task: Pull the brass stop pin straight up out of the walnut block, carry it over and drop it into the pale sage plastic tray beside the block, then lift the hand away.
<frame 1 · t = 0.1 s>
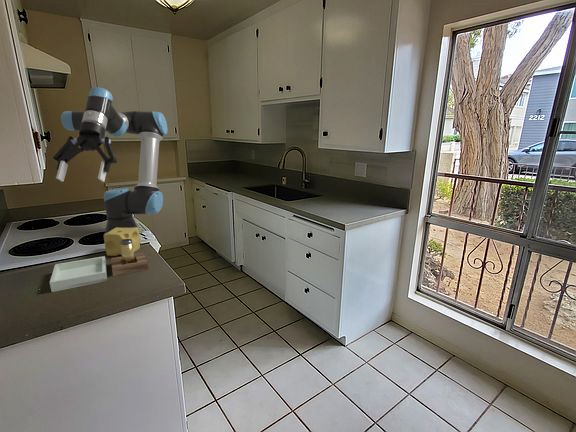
hand: (80, 180, 103), 36 cm above the countertop, tool tilted 35°, fingers open, 13 cm apart
cheese: (123, 252, 135), on the countertop
pin: (128, 253, 119), in the pin block
pin block: (129, 266, 121), on the countertop
tray: (81, 276, 112), on the countertop
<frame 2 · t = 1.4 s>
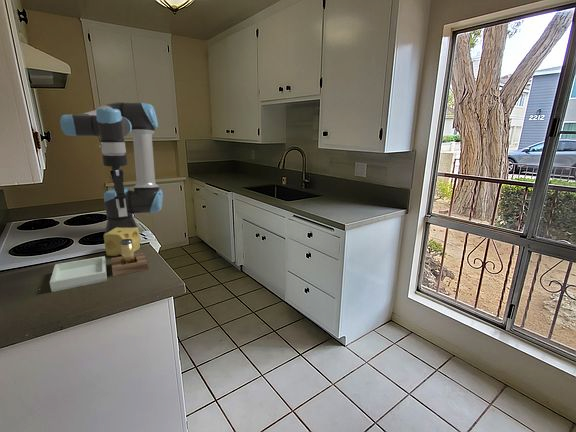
hand: (122, 212, 115), 23 cm above the countertop, tool pointing down, fingers open, 13 cm apart
nothing on the countertop moved.
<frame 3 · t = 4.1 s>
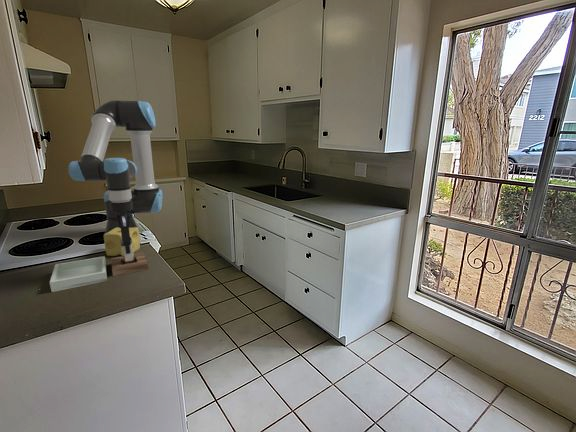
hand: (128, 258, 120), 4 cm above the countertop, tool pointing down, fingers closed on pin, 4 cm apart
pin: (128, 253, 119), in the pin block, touching gripper
everything else where it was.
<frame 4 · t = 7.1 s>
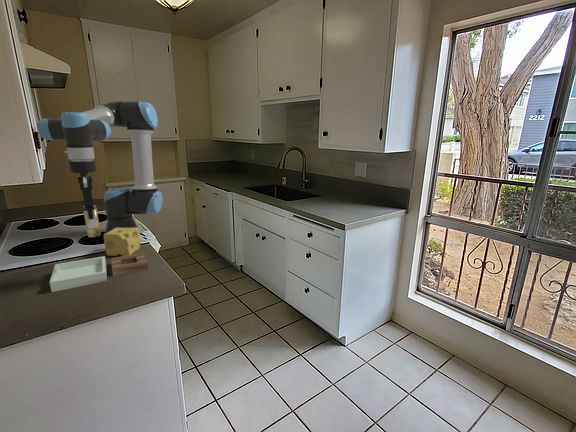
hand: (92, 225, 110), 19 cm above the countertop, tool pointing down, fingers closed on pin, 4 cm apart
pin: (92, 220, 109), point 21 cm above the countertop, touching gripper
everything else where it was.
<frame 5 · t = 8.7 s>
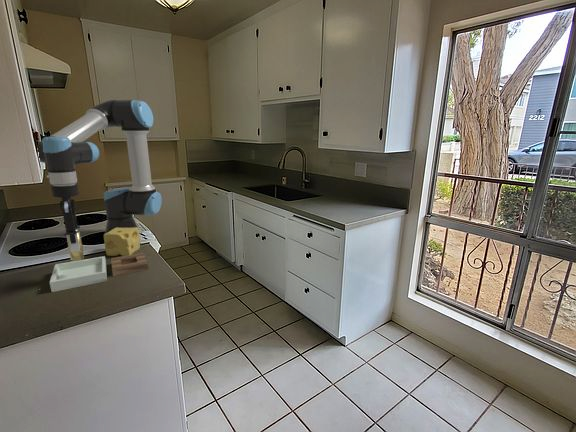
hand: (75, 249, 109), 11 cm above the countertop, tool pointing down, fingers closed on pin, 4 cm apart
pin: (74, 244, 108), point 13 cm above the countertop, touching gripper
everything else where it was.
when the fingers open (7 cm above the countertop, at t = 10.0 s): pin drops 2 cm, resting on tray.
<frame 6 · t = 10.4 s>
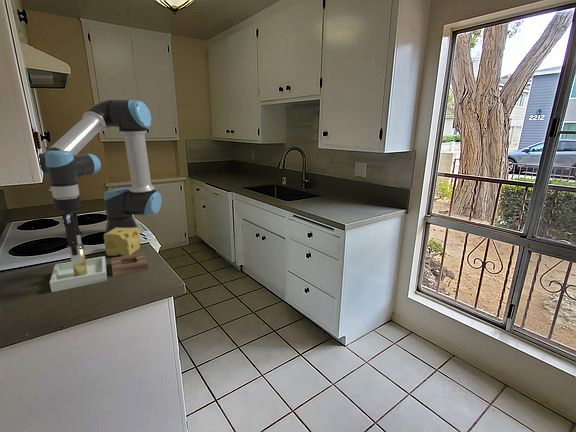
hand: (77, 257, 110), 8 cm above the countertop, tool pointing down, fingers open, 10 cm apart
pin: (78, 260, 110), in the tray, point 7 cm above the countertop
everything else where it was.
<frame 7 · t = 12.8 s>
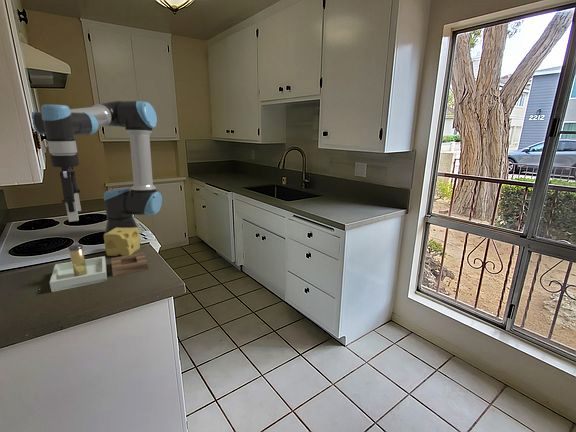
hand: (75, 215, 107), 23 cm above the countertop, tool pointing down, fingers open, 13 cm apart
nothing on the countertop moved.
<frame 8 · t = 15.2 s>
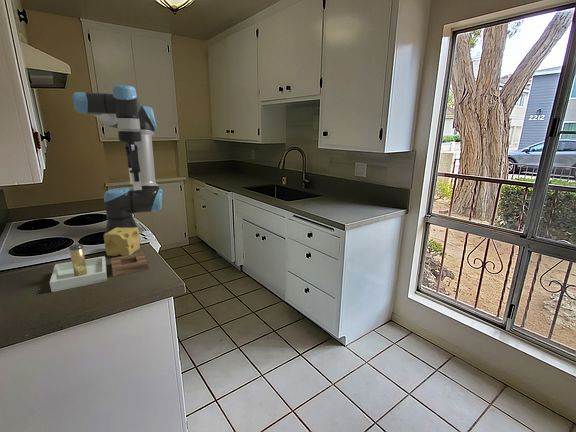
hand: (136, 186, 119), 31 cm above the countertop, tool pointing down, fingers open, 13 cm apart
nothing on the countertop moved.
at the end: pin inside the target area on the tray (0.2 cm from its centre), point 6.5 cm above the tray's base; pin moved 16.1 cm from its start; the gripper is holding nothing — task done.
